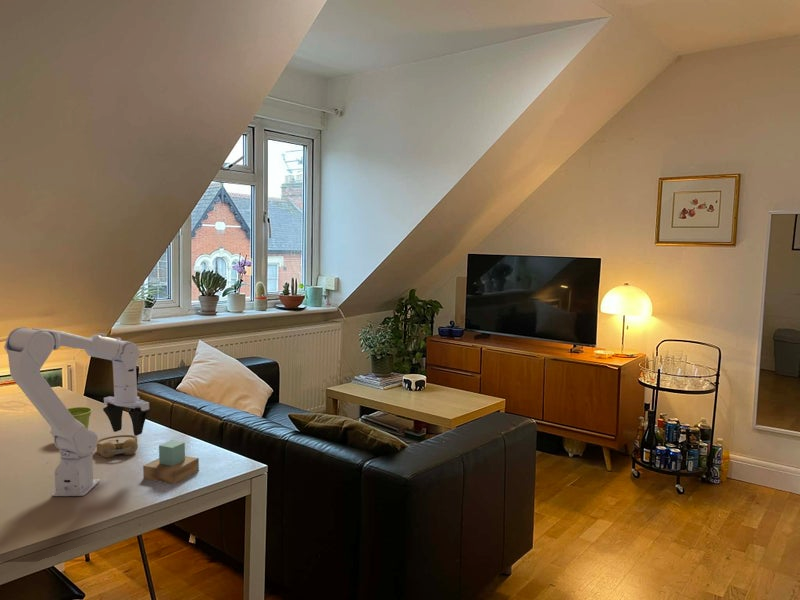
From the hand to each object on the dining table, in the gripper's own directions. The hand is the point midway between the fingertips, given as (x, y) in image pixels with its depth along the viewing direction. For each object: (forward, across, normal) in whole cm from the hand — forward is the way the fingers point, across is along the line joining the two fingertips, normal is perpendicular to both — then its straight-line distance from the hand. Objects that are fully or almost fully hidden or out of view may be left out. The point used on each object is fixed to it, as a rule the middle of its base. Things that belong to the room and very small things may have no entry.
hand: (127, 432), depth 170 cm
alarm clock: (+11, +14, -9) cm, 20 cm away
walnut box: (+11, -13, -2) cm, 17 cm away
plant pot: (+11, +36, -13) cm, 40 cm away
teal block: (+7, -14, -2) cm, 15 cm away
